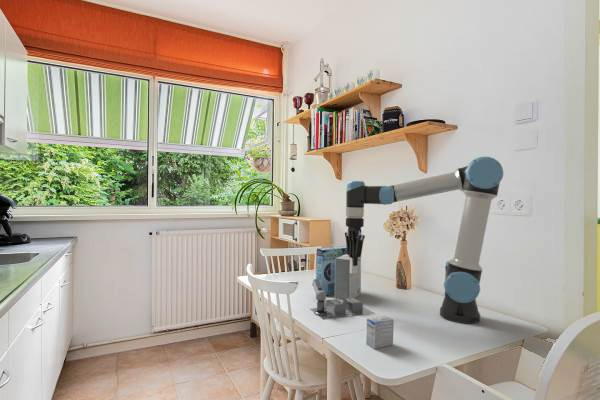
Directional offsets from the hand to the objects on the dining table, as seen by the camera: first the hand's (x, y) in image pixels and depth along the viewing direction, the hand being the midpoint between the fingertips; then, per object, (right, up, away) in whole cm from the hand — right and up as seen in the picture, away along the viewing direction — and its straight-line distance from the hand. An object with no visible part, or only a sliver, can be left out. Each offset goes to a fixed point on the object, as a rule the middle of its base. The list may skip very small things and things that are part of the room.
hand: (353, 272), depth 149 cm
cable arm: (-15, -10, +5) cm, 18 cm away
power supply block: (-8, -16, -3) cm, 18 cm away
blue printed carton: (-6, -16, +30) cm, 35 cm away
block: (0, -16, 0) cm, 16 cm away
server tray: (-5, -16, -2) cm, 17 cm away
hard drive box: (+1, -17, +22) cm, 28 cm away
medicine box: (+3, -17, -34) cm, 38 cm away
